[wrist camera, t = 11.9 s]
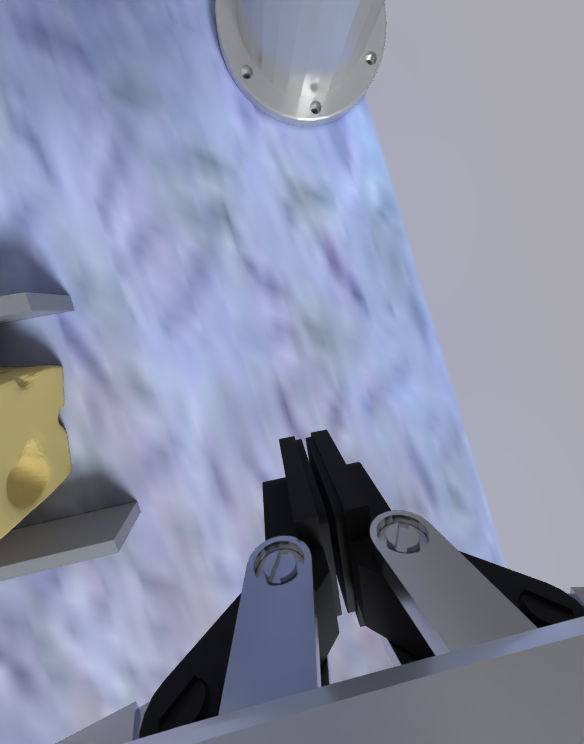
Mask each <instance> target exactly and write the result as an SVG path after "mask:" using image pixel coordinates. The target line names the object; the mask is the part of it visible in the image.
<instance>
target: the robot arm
mask: <svg viewBox="0 0 584 744" xmlns="http://www.w3.org/2000/svg"><path fill="white" fill-rule="evenodd" d="M215 15H216V25H217V33H218V38H219V43H220V49H221V52H222V54H223V57H224V60H225V63H226V66H227V68H228V70H229V72H230V74H231V76H232V77H233V79H234V81H235V83H236V85H237V86H238V87H239V88H240V90H241V91H242V92H243V94H244V95H245V96H246V97H247V99H248V100H249V101H251V102H252V103H253V104H254V105H255V106H256V107H257V108H258V109H259V110H261V111H262V112H264V113H265V114H267V115H269V116H270V117H272V118H274V119H276V120H278V121H281V122H284V123H286V124H289V125H296V126H302V127H308V126H319V125H323V124H326V123H329V122H333V121H334V120H336V119H338V118H340V117H341V116H343V115H345V114H346V113H348V112H349V111H350V110H351V109H352V108H353V107H354V106H355V105H357V104H358V102H359V101H360V100H361V98H362V97H363V96H364V94H365V93H366V92H367V90H368V88H369V86H370V84H371V82H372V81H373V79H374V77H375V75H376V73H377V70H378V68H379V65H380V63H381V59H382V55H383V50H384V46H385V39H386V12H385V0H215ZM245 78H249V79H245ZM313 112H315V113H316V114H314V113H313ZM279 443H280V448H281V454H282V459H283V465H284V470H285V476H286V477H285V478H280V479H276V480H271V481H266V482H263V503H264V521H265V540H266V541H265V542H263V543H262V544H260V545H259V546H258V547H257V548H256V549H255V550H254V551H253V553H252V554H251V555H250V558H249V560H248V563H247V567H246V572H245V577H244V583H243V588H242V593H241V594H240V595H239V596H238V597H237V598H236V599H235V601H234V602H233V603H232V604H231V605H230V606H229V607H228V609H227V610H226V611H225V612H224V613H223V614H222V615H221V617H220V618H219V619H218V620H217V621H216V622H215V623H214V625H213V626H212V627H211V628H210V629H209V630H208V631H207V632H206V634H205V635H204V636H203V637H202V638H201V639H200V640H199V642H198V643H197V644H196V645H195V646H194V647H193V648H192V650H191V651H190V652H189V653H188V654H187V655H186V656H185V658H184V659H183V660H182V661H181V662H180V663H179V664H178V666H177V667H176V668H175V669H174V670H173V671H172V672H171V674H170V675H169V676H168V677H167V678H166V679H165V680H164V682H163V683H162V684H161V686H160V687H159V688H158V690H157V691H156V693H155V694H154V695H153V697H152V699H151V701H150V702H148V703H147V704H145V705H143V706H141V707H139V708H138V705H137V703H136V702H134V703H132V704H130V705H128V706H126V707H124V708H122V709H121V710H119V711H117V712H115V713H113V714H111V715H109V716H107V717H105V718H103V719H102V720H100V721H98V722H96V723H94V724H92V725H90V726H88V727H86V728H84V729H83V730H81V731H79V732H77V733H75V734H73V735H71V736H69V737H67V738H65V739H63V740H62V741H60V742H58V743H56V744H584V587H571V591H570V594H567V593H565V592H564V591H562V590H561V589H559V588H556V587H554V586H552V585H550V584H548V583H546V582H543V581H540V580H537V579H534V578H532V577H529V576H526V575H523V574H521V573H518V572H515V571H512V570H510V569H507V568H504V567H501V566H499V565H496V564H493V563H490V562H488V561H485V560H482V559H479V558H477V557H474V556H471V555H468V554H466V553H463V552H460V551H458V550H457V549H456V548H455V547H454V546H453V545H452V544H451V543H450V542H449V541H448V540H447V539H446V538H445V537H444V536H443V535H442V534H441V533H440V532H438V531H437V530H436V529H435V528H434V527H433V526H432V525H431V524H430V523H429V522H428V521H427V520H425V519H424V518H423V517H421V516H419V515H417V514H414V513H412V512H408V511H403V510H393V511H391V509H390V508H389V506H388V505H387V503H386V502H385V500H384V498H383V497H382V495H381V494H380V492H379V491H378V489H377V488H376V486H375V485H374V483H373V482H372V480H371V478H370V477H369V475H368V474H367V472H366V471H365V469H364V468H363V466H362V465H361V463H360V462H356V463H351V464H347V465H346V463H345V461H344V460H343V458H342V456H341V454H340V452H339V451H338V449H337V447H336V445H335V443H334V442H333V440H332V438H331V436H330V434H329V433H328V431H327V430H322V431H317V432H312V433H311V437H309V438H306V444H307V450H308V457H309V460H308V457H307V454H306V451H305V449H304V446H303V443H302V440H301V439H299V440H295V437H294V436H292V437H287V438H282V439H279ZM336 575H337V577H336ZM337 579H338V582H339V585H340V589H341V592H342V595H343V599H344V602H345V605H346V608H347V611H348V613H350V612H354V611H355V612H356V615H357V618H358V621H359V624H360V627H362V626H367V627H368V628H370V629H372V630H373V631H375V632H377V633H378V634H380V635H381V640H382V643H383V645H384V648H385V650H386V652H387V654H388V656H389V658H390V660H391V662H392V664H393V666H394V667H393V668H389V669H385V670H382V671H378V672H374V673H371V674H367V675H363V676H360V677H356V678H352V679H349V680H345V681H341V682H338V683H334V684H331V674H330V663H329V657H328V653H329V651H330V649H331V647H332V646H333V644H334V642H335V640H336V638H337V636H338V634H339V628H338V621H337V616H339V615H342V611H341V604H340V598H339V591H338V584H337Z"/></svg>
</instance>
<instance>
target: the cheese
mask: <svg viewBox="0 0 584 744" xmlns="http://www.w3.org/2000/svg"><path fill="white" fill-rule="evenodd" d="M63 406H64V389H63V367H62V366H59V365H43V366H32V367H0V539H1V538H3V537H4V536H5V535H6V534H7V533H8V532H9V531H10V530H11V529H13V528H14V527H15V526H16V525H17V524H18V523H19V522H20V521H21V520H22V519H23V518H24V517H26V516H27V515H28V514H29V513H30V512H31V511H32V510H33V509H35V508H36V507H37V506H38V505H39V504H40V503H41V502H43V501H44V500H45V499H46V498H47V497H48V496H49V495H50V494H51V493H52V492H53V491H54V490H55V489H56V488H57V487H58V486H59V485H60V484H61V483H62V482H63V481H64V480H65V479H66V478H67V477H68V475H69V474H70V473H71V471H72V469H71V460H70V452H69V445H68V438H67V433H66V431H65V429H64V428H63V426H61V425H60V424H59V421H58V415H59V411H60V410H61V408H62V407H63Z"/></svg>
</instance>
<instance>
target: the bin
mask: <svg viewBox="0 0 584 744" xmlns="http://www.w3.org/2000/svg"><path fill="white" fill-rule="evenodd" d="M69 311H74V308H73V304H72V301H71V298H70V296H68V295H55V294H43V293H30V292H22V293H16V294H10V295H4V296H0V323H5V322H11V321H16V320H22V319H28V318H34V317H40V316H45V315H51V314H57V313H63V312H69ZM139 514H140V509H139V506H138V503H137V501H136V502H132V503H127V504H123V505H119V506H114V507H110V508H106V509H101V510H97V511H92V512H88V513H84V514H79V515H75V516H71V517H66V518H62V519H58V520H53V521H49V522H45V523H40V524H36V525H32V526H27V527H23V528H19V529H14V530H10V531H9V532H8V533H7V534H6V535H5V536H4V537H3V538H1V539H0V581H4V580H8V579H12V578H16V577H20V576H24V575H28V574H32V573H37V572H41V571H45V570H49V569H53V568H57V567H61V566H65V565H69V564H74V563H78V562H82V561H86V560H90V559H94V558H98V557H102V556H106V555H111V554H115V553H118V552H119V551H120V549H121V547H122V545H123V543H124V542H125V540H126V538H127V536H128V534H129V532H130V531H131V529H132V527H133V525H134V523H135V521H136V520H137V518H138V516H139Z"/></svg>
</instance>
